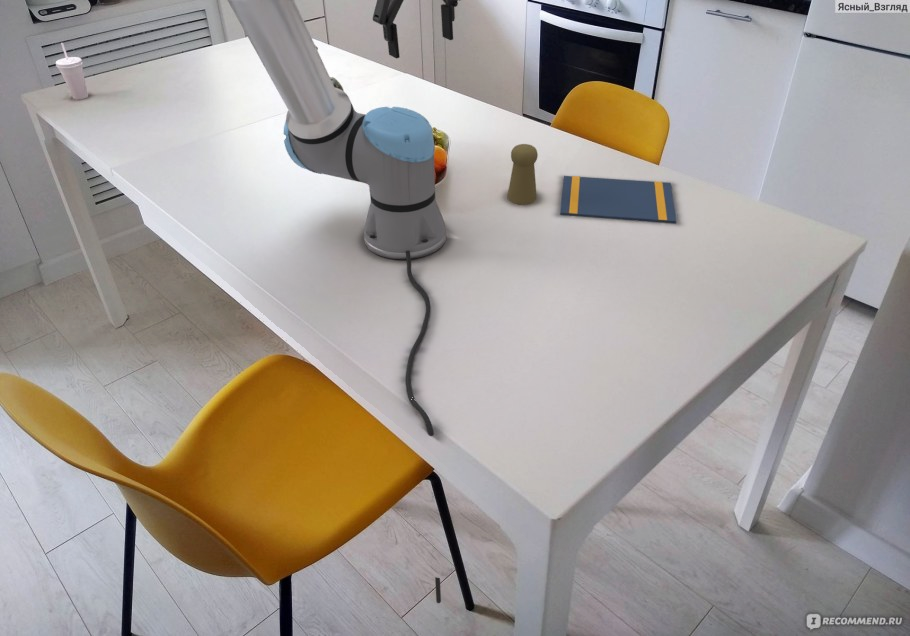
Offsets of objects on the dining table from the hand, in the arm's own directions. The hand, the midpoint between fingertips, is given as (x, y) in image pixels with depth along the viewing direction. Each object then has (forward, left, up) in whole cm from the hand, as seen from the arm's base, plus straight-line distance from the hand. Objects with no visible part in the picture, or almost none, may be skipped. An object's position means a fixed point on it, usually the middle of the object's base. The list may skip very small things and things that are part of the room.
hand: (421, 47), depth 147 cm
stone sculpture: (+14, +27, -24) cm, 39 cm away
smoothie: (+22, +100, -24) cm, 105 cm away
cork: (-17, -23, -24) cm, 37 cm away
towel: (-15, -42, -24) cm, 51 cm away
